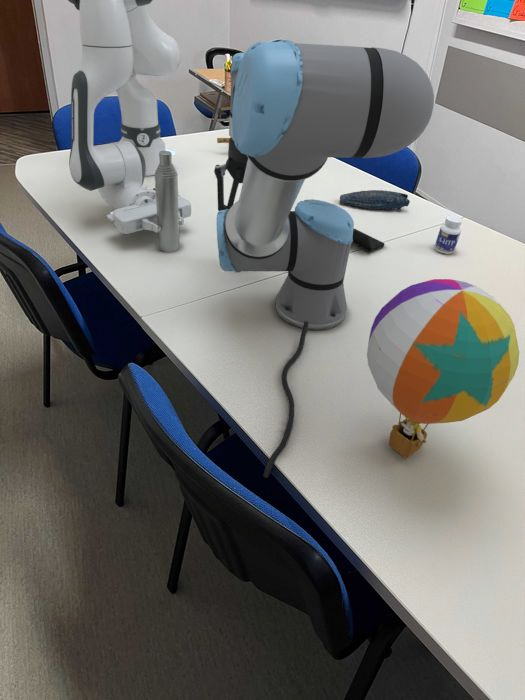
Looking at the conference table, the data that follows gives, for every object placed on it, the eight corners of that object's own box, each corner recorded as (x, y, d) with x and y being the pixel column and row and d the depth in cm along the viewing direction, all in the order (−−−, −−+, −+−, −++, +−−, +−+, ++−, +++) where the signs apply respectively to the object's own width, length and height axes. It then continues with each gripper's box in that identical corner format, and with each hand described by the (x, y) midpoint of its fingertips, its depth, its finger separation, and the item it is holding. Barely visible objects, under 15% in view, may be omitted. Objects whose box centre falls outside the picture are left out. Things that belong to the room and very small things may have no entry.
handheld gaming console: (388, 238, 139) (380, 215, 131) (377, 260, 138) (367, 239, 130) (351, 229, 145) (341, 207, 137) (340, 251, 144) (328, 230, 136)
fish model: (408, 214, 157) (412, 198, 153) (339, 207, 158) (341, 191, 154) (406, 206, 162) (410, 190, 159) (339, 199, 163) (341, 183, 160)
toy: (318, 439, 84) (351, 278, 65) (393, 389, 94) (440, 239, 76) (417, 524, 73) (492, 360, 54) (489, 457, 83) (573, 301, 65)
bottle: (159, 252, 128) (154, 156, 113) (157, 243, 132) (152, 148, 117) (180, 251, 129) (178, 156, 114) (178, 241, 133) (175, 148, 118)
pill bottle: (433, 251, 139) (442, 220, 133) (435, 243, 143) (444, 213, 137) (453, 256, 138) (464, 225, 132) (454, 247, 142) (465, 217, 136)
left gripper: (101, 202, 126) (131, 224, 118) (172, 186, 137) (203, 204, 130) (104, 227, 130) (133, 248, 122) (173, 208, 141) (203, 227, 134)
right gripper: (286, 136, 111) (276, 235, 126) (207, 129, 110) (207, 230, 125) (287, 147, 105) (276, 250, 120) (204, 140, 105) (203, 245, 120)
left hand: (170, 225), depth 126 cm, fingers closed on bottle, 5 cm apart
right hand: (241, 239), depth 123 cm, fingers closed on cap, 4 cm apart
